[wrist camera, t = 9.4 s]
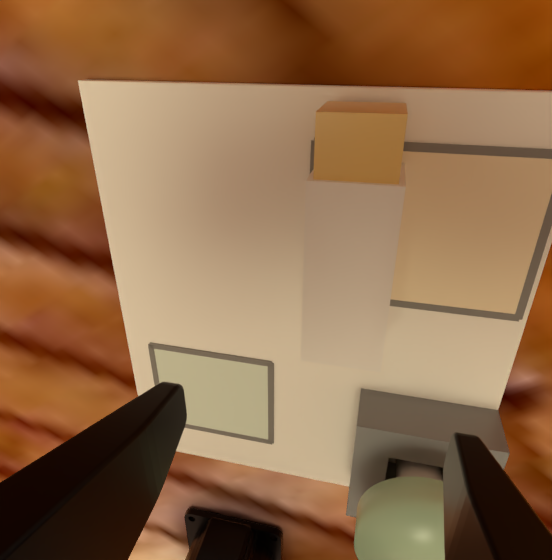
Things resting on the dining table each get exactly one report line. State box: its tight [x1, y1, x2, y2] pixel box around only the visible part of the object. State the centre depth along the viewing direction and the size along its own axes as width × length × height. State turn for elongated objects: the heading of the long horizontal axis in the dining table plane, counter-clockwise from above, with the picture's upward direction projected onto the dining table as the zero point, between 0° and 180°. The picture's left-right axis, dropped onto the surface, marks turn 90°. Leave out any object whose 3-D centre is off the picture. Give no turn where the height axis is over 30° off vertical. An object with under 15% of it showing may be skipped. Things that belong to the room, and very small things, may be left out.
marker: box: [301, 101, 408, 372], centre depth 16 cm, size 9×3×3 cm, turn 1°
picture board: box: [78, 79, 552, 487], centre depth 20 cm, size 20×18×1 cm
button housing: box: [346, 388, 509, 517], centre depth 21 cm, size 6×6×3 cm
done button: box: [354, 459, 445, 560], centre depth 19 cm, size 5×5×4 cm
